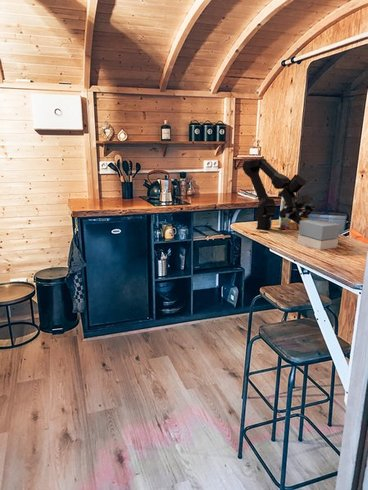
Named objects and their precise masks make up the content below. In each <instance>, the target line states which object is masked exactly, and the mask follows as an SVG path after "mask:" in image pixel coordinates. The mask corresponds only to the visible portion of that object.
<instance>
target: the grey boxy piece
mask: <svg viewBox="0 0 368 490" xmlns="http://www.w3.org/2000/svg"><path fill="white" fill-rule="evenodd" d="M301 220H302V221H300V224H297V227H298V235H300V234H301V235H305V236H308V237H312V238H315V239H319V240H326V239H333V238H337V239H339V236H340V231H341V230H340V229H341V224H340V223H335V222H331V221H328V220H323V219H319V218H312V219H309V218H308V219H307V218H303V217H301Z"/></svg>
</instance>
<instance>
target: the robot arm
mask: <svg viewBox="0 0 368 490" xmlns="http://www.w3.org/2000/svg"><path fill="white" fill-rule="evenodd" d="M241 166H242V170H243V172H244V174H245V175H246V176H247V177H248V178H249V179H250V181H251V183H252V186H253V189H254V192H255V194H256V196H257V199H258V206H257V207H258V209H257V210H256V211H255V212H254V216H255V217H256V218H257V223H256V224H257V225H256V228H255V229H256V230H263V231H264V230H265V231H269V230H270V229H272V224H273V223H272V222H273V220H272V218H274V216H275V214H276V212H277V204H276V201H275V199H274V198H270V197H269V196H268V193H267V191H266V189H265V185H264V183H263V181H262V178H261V176H260V170H261V171H262V172H263V173H264V174H265V175H266V177H268V178H269V179H270V181H271V182H270V183H271V184H272V186H273V187H274V188H275V190H280V191H278V195H277V197H278V198H282V197H283V199H284V201H285V202H286V203H285V204H284V205H285V206H287V207H284V208H283V209H282V210H281V211H280V210H279V213H278V215H279V216H280V218H285V217H286V214H289V217H288V219H291V221H292V222H294V223H296V225H298V224H300V221H302V220H301V217H303V218H307V219H309V217H308V216H310V215H311V214H312V213H313V212H314V211H316V207H315V205H314V204H308V203H310V202H311V201H312V196H311V195H310V194H309V193H307V194H304V195H300V196H297V195H296V193H297V194H298V193H299V192H300V191H301V190H302V189H303V188H304V187H305V186H306V185H307V182H306V180H305V178H303V177H302V176H300V175H299V174H294V175H293V176H292V178H291V179H290V178H289V177H288V176H286V175H285V174H282V173H280V172H279V171H277V170H276V169H275V168H274V166H272V164H270V163H269V162H268V161H267V159H266V158H256V159H252V160H244V162H243V163H242V165H241ZM305 204H306V205H305Z"/></svg>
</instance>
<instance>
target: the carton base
mask: <svg viewBox="0 0 368 490" xmlns="http://www.w3.org/2000/svg"><path fill="white" fill-rule="evenodd" d="M338 242H339V238H333V239H326V240H319V239H315V238H312V237H308V236H305V235H301V234H298V235H297V242H296V243H297V244H300V245H304V246H307V247H309V248H313V249H316V250H319V251H321V250H328V249H335V248H338V244H339V243H338Z"/></svg>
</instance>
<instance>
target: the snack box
mask: <svg viewBox="0 0 368 490" xmlns="http://www.w3.org/2000/svg"><path fill="white" fill-rule="evenodd" d="M285 203H286V202H285V201H284V199H283V197H281V199H280V209H279V212H280V211H281V210H282V209H283V208H284V207H287V206H285V205H284V204H285ZM288 217H289V214H286V217H285V218H280V216H279V218H278V222H279V223H278V225H279V229H282V230H284V229H285V230H290V227H291V221H292V220H291V219H288Z"/></svg>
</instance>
